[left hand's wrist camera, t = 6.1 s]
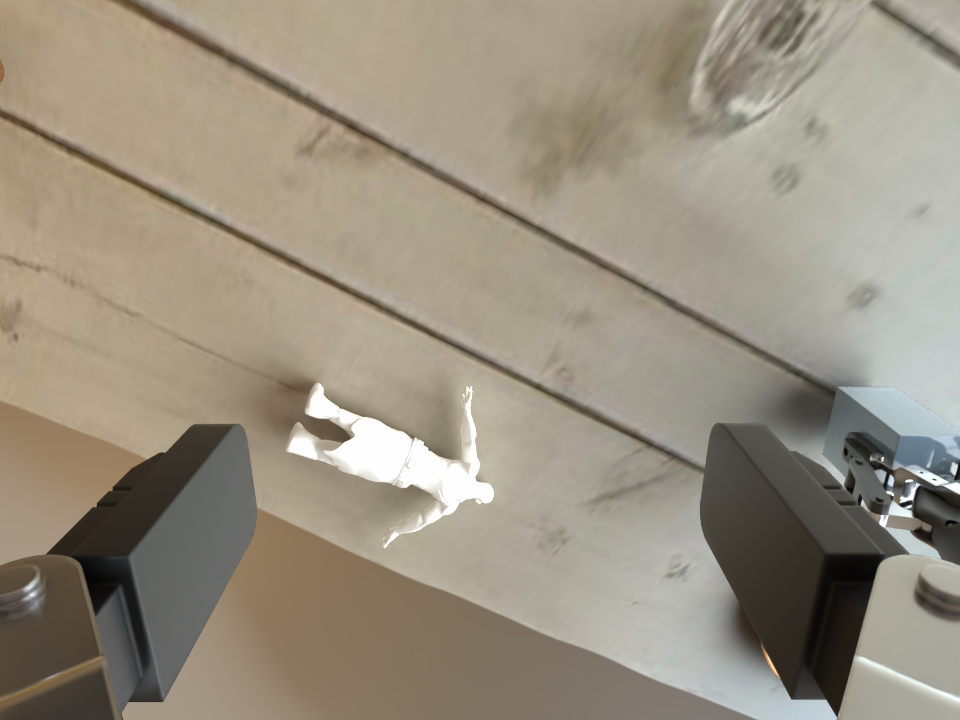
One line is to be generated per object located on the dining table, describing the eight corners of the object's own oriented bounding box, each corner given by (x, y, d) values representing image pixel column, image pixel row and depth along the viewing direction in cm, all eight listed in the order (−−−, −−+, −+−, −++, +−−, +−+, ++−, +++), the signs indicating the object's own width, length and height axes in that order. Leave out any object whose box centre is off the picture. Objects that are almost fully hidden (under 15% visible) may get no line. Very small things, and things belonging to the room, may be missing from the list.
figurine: (265, 482, 57) (445, 546, 62) (253, 518, 52) (449, 584, 57) (344, 317, 51) (533, 401, 56) (338, 340, 47) (546, 430, 52)
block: (822, 454, 54) (879, 512, 46) (837, 386, 52) (899, 435, 44) (877, 454, 54) (944, 512, 46) (895, 386, 52) (968, 435, 44)
